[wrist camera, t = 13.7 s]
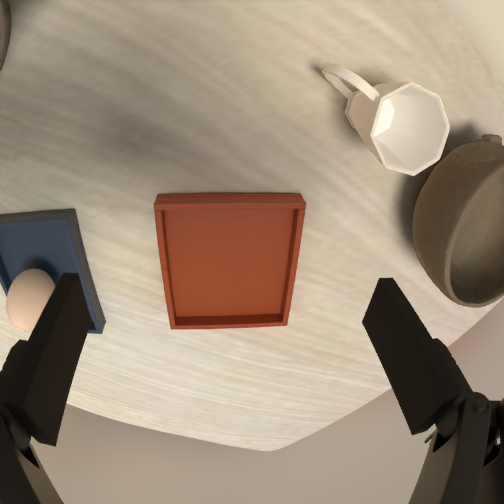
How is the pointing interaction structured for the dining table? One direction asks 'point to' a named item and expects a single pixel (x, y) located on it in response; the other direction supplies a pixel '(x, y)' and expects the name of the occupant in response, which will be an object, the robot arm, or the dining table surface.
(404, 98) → the cup
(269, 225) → the terracotta tray
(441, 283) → the bowl
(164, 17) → the dining table surface
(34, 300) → the egg
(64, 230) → the blue tray
